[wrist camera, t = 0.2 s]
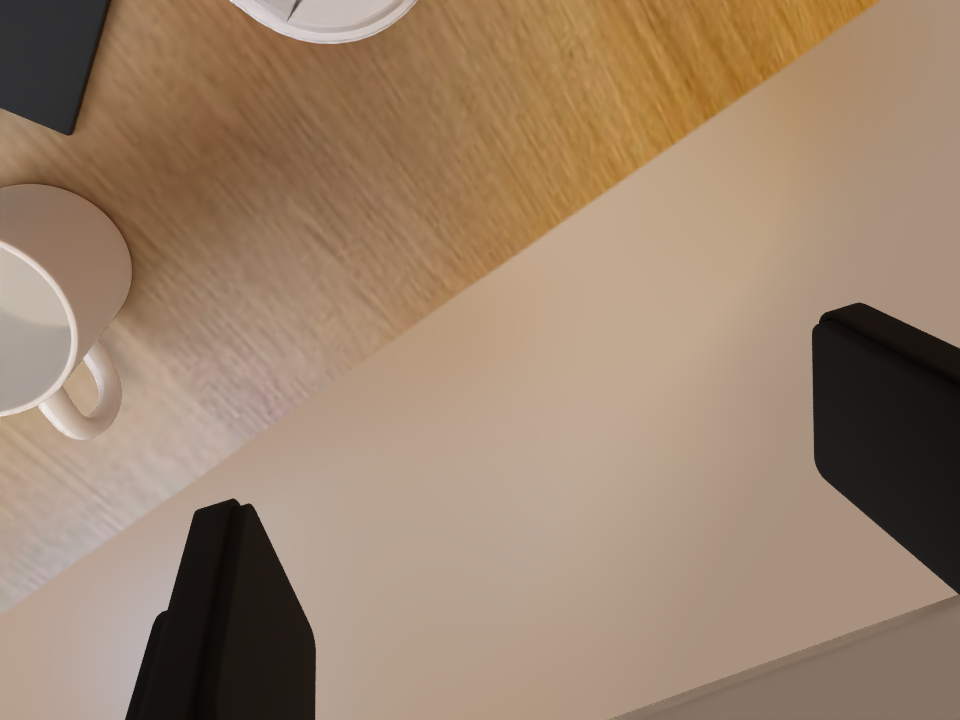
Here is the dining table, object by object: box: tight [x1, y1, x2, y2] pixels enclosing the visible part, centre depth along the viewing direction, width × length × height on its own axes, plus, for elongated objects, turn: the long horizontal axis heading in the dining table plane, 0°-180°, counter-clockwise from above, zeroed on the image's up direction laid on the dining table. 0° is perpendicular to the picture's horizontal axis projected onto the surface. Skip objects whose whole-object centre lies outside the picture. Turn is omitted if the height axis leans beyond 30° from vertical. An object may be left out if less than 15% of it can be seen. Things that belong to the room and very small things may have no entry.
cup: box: [0, 184, 132, 440], centre depth 33 cm, size 8×12×10 cm
